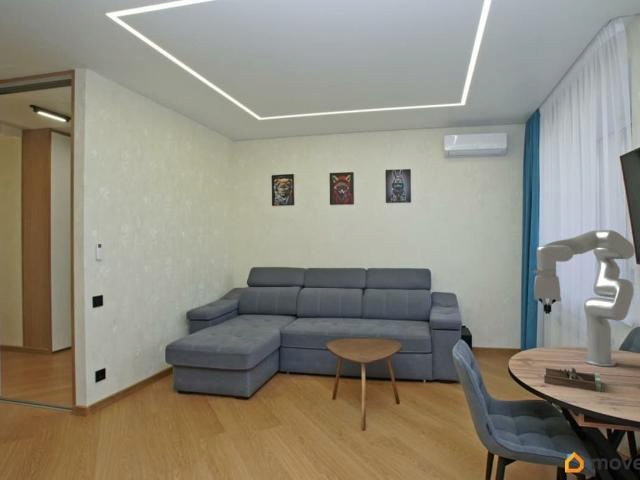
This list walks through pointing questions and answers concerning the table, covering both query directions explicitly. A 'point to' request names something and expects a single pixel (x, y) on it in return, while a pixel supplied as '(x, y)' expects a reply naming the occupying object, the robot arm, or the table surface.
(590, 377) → the walnut guide
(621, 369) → the table surface
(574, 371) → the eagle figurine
